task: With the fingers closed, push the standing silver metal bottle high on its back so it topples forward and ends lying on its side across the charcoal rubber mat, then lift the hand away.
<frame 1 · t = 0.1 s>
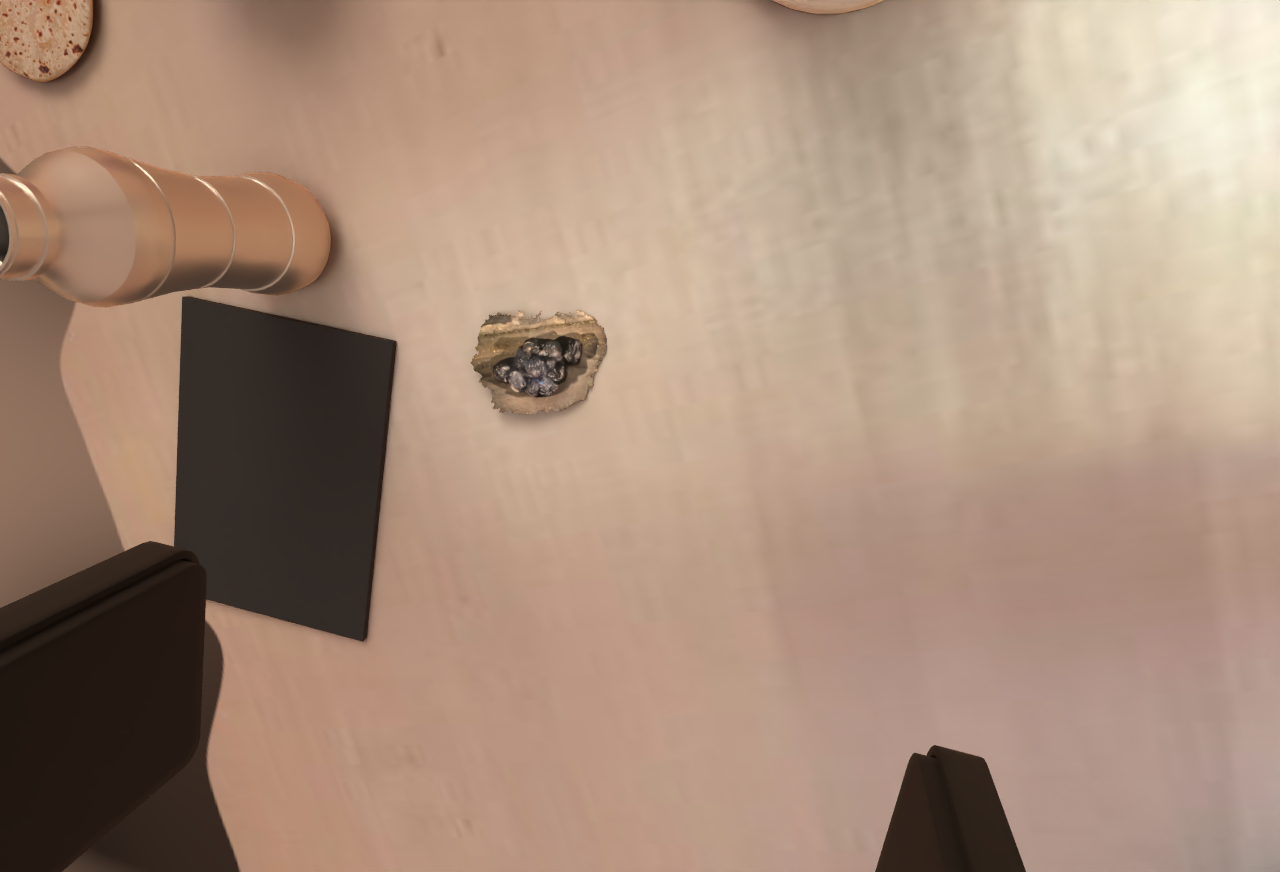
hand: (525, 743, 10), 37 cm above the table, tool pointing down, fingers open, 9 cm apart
mineral rock: (543, 354, 48), on the table
flatbread: (45, 11, 48), on the table
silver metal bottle: (297, 234, 49), on the table
mat: (279, 472, 53), on the table
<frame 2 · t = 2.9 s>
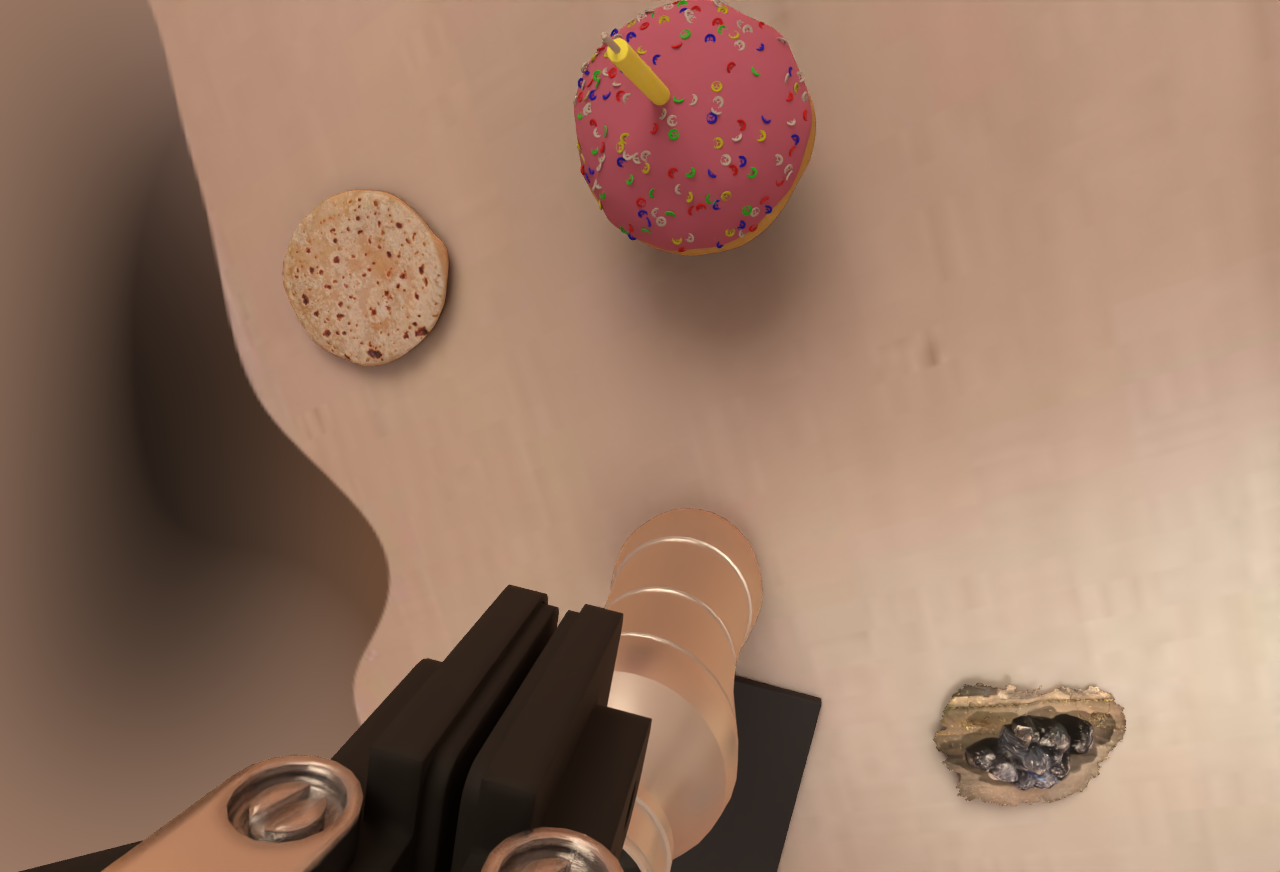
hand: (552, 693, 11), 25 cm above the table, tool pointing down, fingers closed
mineral rock: (1027, 729, 37), on the table
flatbread: (375, 277, 38), on the table
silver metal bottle: (695, 562, 38), on the table
mat: (638, 832, 42), on the table
cupcake: (707, 145, 34), on the table
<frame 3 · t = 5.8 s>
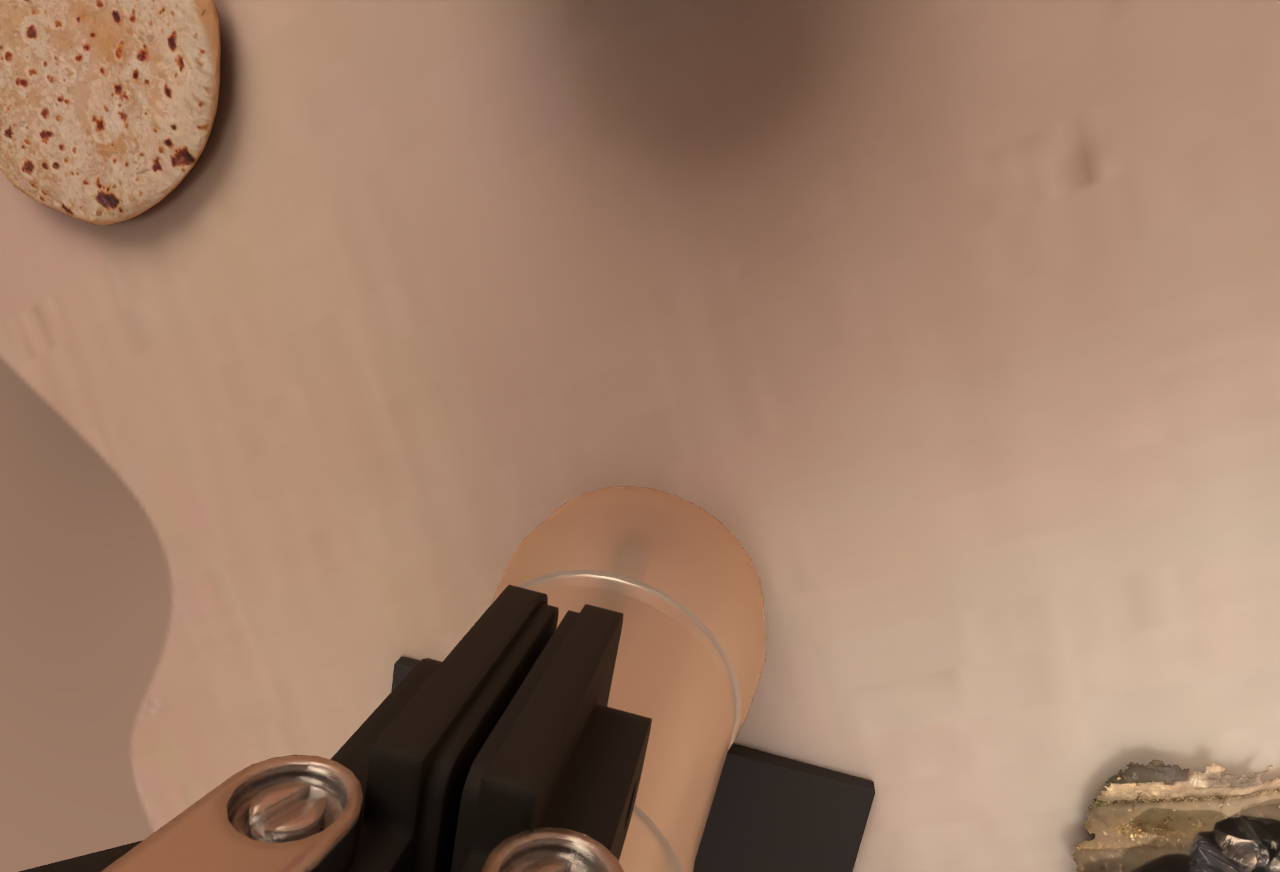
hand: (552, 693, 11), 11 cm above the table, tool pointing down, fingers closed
mineral rock: (1233, 836, 21), on the table
flatbread: (110, 71, 22), on the table
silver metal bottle: (655, 562, 22), on the table
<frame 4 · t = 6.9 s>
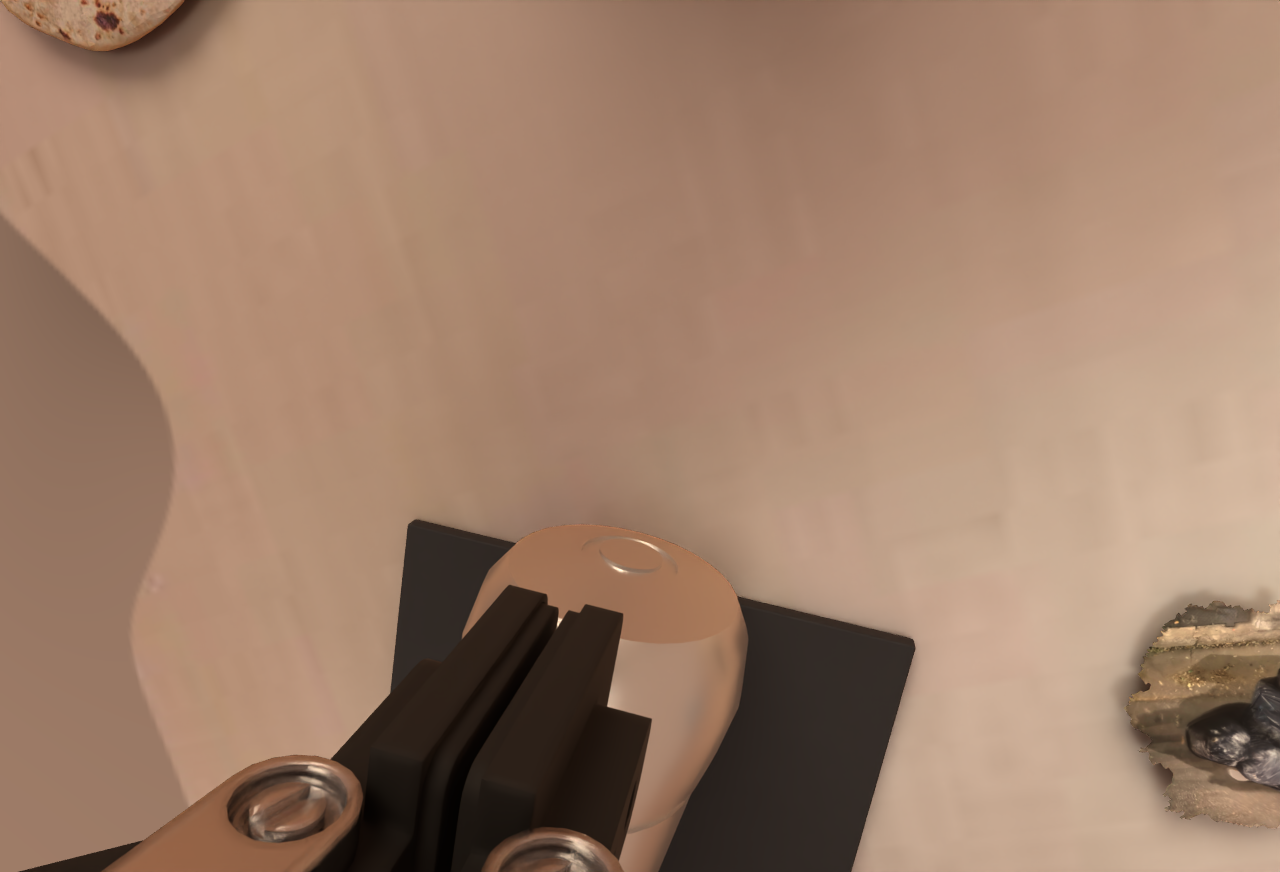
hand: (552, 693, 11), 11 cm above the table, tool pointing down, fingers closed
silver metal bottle: (632, 546, 18), point 4 cm above the table, touching mat
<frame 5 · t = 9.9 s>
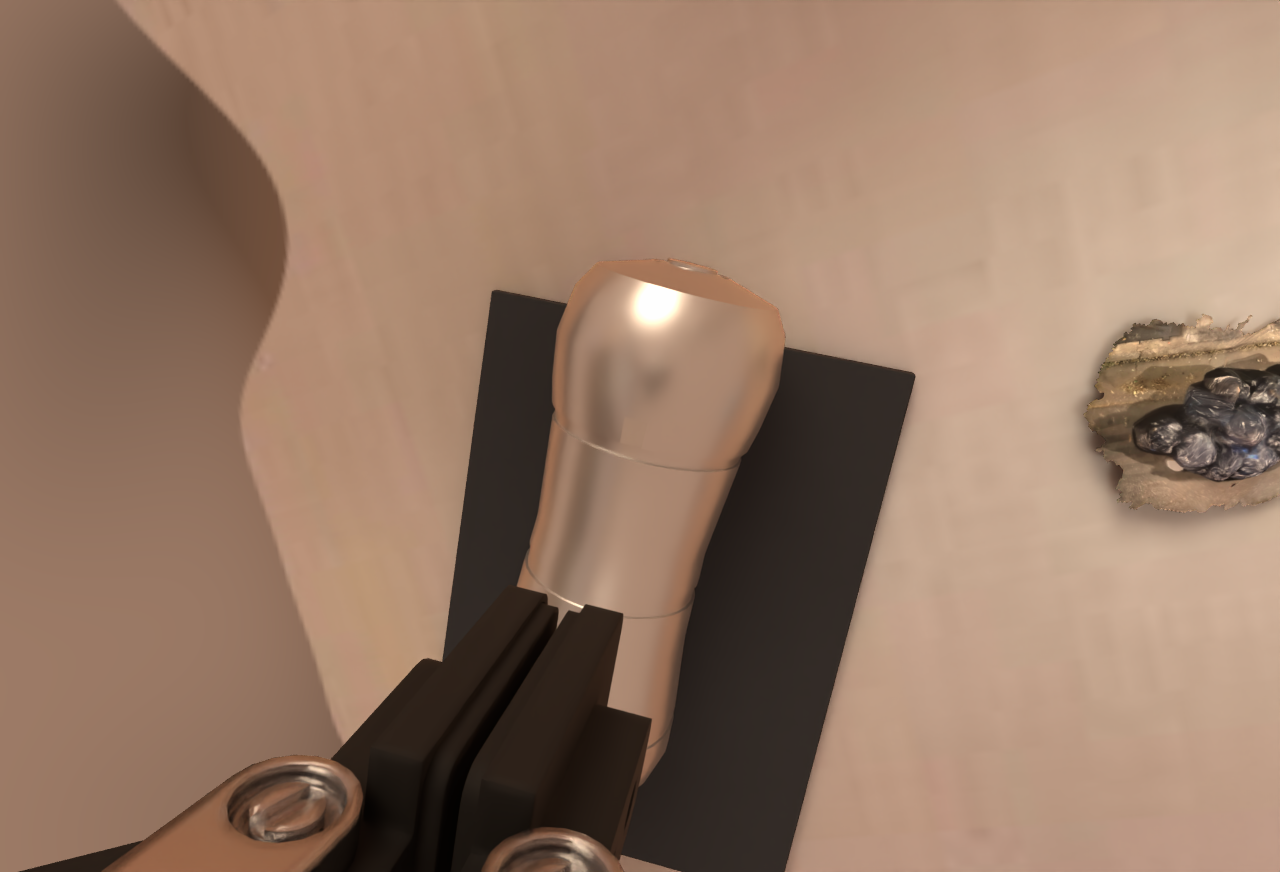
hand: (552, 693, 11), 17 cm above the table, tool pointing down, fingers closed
mineral rock: (1220, 399, 25), on the table
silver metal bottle: (694, 257, 23), point 4 cm above the table, touching mat
mat: (644, 605, 29), on the table
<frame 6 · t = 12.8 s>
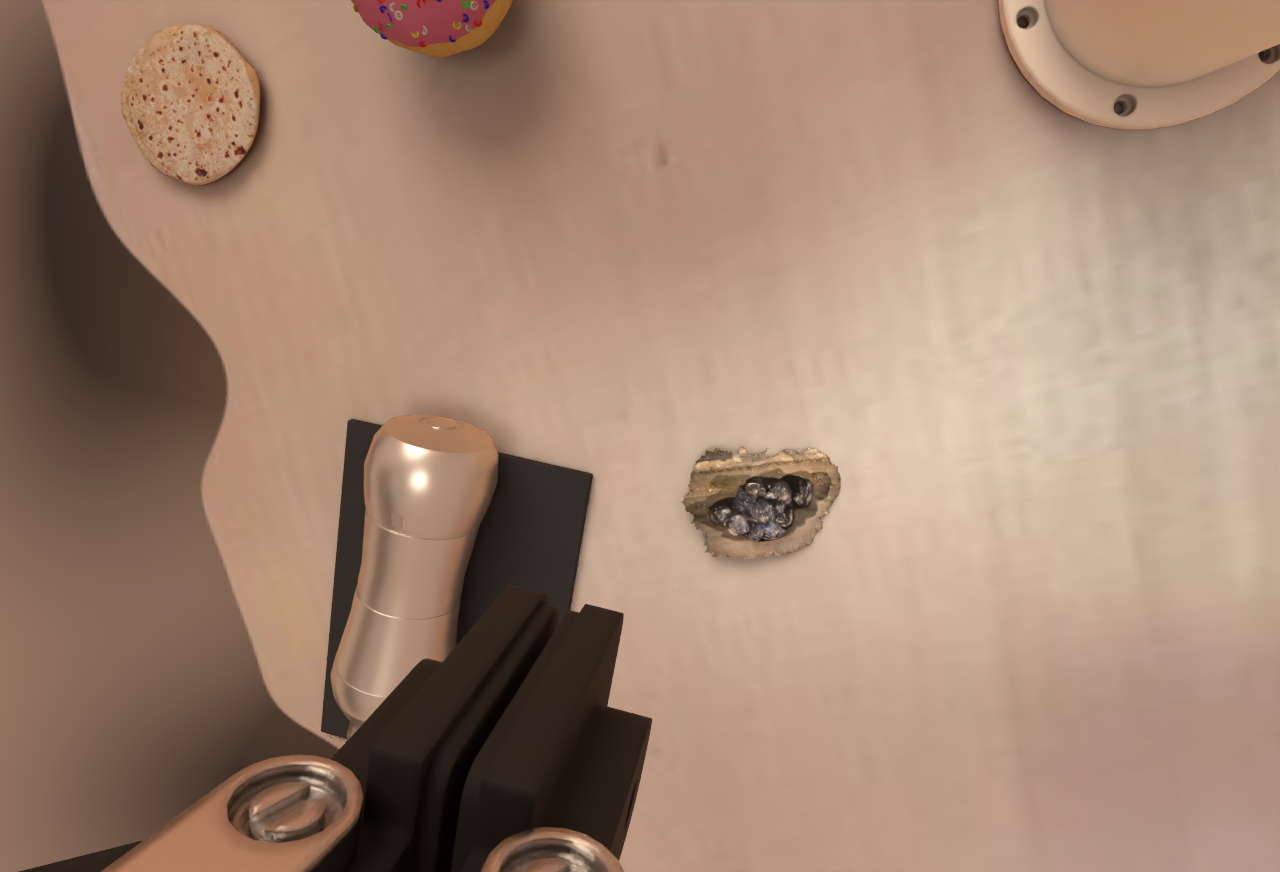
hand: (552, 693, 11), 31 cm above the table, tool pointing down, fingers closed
mineral rock: (763, 492, 43), on the table
flatbread: (202, 106, 43), on the table
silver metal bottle: (441, 418, 41), point 4 cm above the table, touching mat
mat: (449, 609, 47), on the table
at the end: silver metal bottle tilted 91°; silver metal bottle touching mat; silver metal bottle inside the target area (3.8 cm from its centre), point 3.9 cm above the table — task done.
